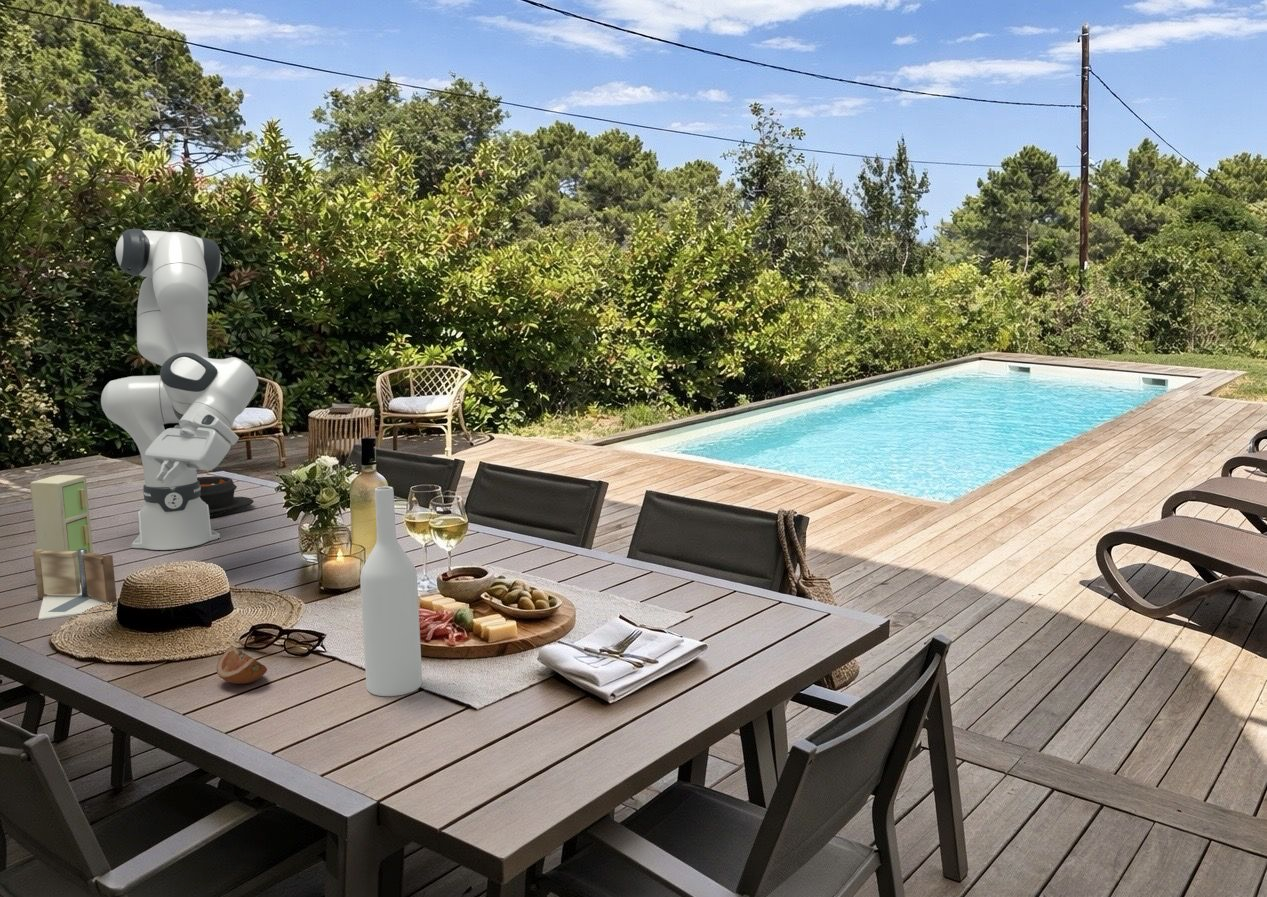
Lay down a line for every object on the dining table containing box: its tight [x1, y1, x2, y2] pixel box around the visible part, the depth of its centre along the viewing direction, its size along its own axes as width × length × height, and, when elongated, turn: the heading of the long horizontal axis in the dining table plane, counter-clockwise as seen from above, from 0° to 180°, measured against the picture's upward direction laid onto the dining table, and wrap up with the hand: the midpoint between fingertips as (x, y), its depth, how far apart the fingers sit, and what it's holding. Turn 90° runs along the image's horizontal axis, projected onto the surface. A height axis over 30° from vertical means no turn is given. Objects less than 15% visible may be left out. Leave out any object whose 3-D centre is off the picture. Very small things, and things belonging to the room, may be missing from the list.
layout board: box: [37, 583, 107, 621], centre depth 199 cm, size 21×12×1 cm, turn 26°
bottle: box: [359, 485, 423, 697], centre depth 152 cm, size 8×8×30 cm
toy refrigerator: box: [29, 474, 94, 579], centre depth 212 cm, size 8×7×21 cm
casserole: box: [197, 476, 254, 516], centre depth 273 cm, size 25×19×8 cm
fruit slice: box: [216, 644, 268, 685], centre depth 156 cm, size 8×7×5 cm
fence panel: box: [82, 552, 118, 603], centre depth 197 cm, size 8×2×9 cm, turn 56°
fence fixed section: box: [32, 548, 90, 599], centre depth 200 cm, size 10×2×10 cm, turn 86°
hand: (162, 482), depth 205 cm, fingers closed
